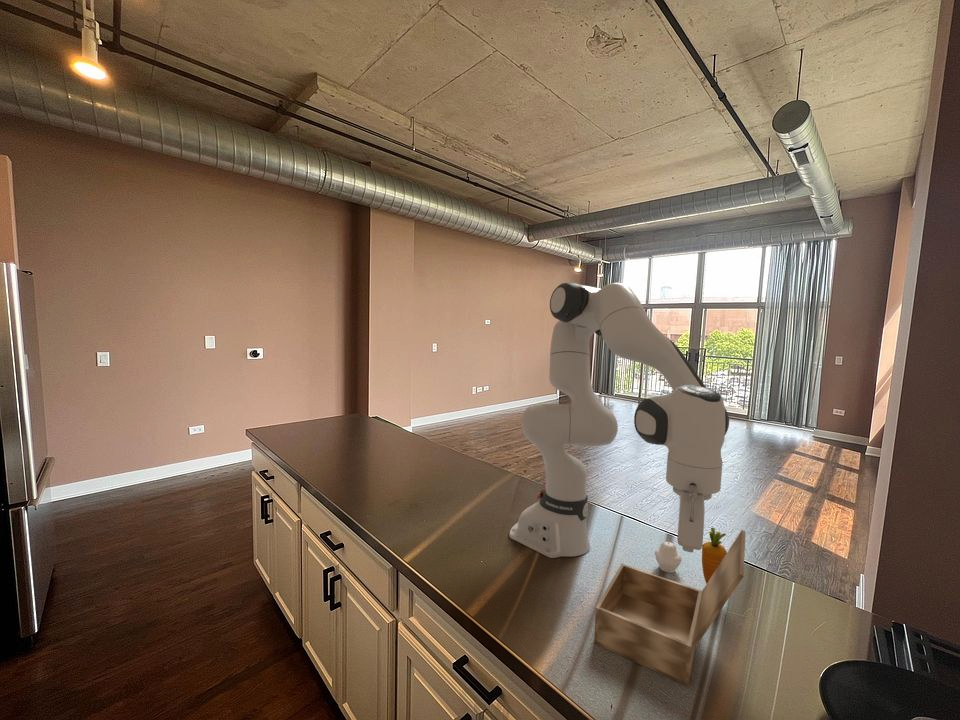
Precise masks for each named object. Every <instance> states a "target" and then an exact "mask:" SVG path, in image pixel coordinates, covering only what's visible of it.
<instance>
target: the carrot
mask: <svg viewBox="0 0 960 720" xmlns="http://www.w3.org/2000/svg"><path fill="white" fill-rule="evenodd" d="M725 536H727V534H726V533H724V532H723V533H721V532H720V531H716V529H715V527H711V528H710V531H709V540H710V541H707V542H703V544H702V548H701V565H702V566H701V567H702V573H703V577H704V581H705V585H706V584H707V583H708V581H709V580H710V578H711V577H712V575H713V573H714V572H715V570H716V569H717V567H718V566H719V564H720V563H721V561H722V560H723V558H724V557H725V555H726V554H727V552H728V551H727V550H726V548H725V547H724V546H723V545H722V540H721V539H722V538H723V537H725Z"/></svg>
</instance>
